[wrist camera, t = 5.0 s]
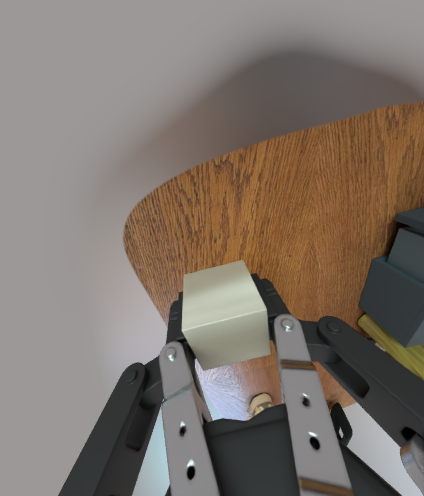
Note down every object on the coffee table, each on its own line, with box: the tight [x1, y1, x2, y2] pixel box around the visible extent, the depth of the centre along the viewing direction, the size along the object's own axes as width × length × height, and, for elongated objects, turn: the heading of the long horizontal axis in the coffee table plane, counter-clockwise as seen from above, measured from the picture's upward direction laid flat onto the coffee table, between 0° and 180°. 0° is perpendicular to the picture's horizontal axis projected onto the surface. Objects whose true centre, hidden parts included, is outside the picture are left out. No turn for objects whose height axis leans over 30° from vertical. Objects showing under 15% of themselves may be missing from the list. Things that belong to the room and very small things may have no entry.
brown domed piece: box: [247, 393, 274, 420], centre depth 57 cm, size 10×11×15 cm
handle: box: [330, 402, 352, 446], centre depth 66 cm, size 17×27×15 cm, turn 99°
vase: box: [358, 313, 424, 380], centre depth 36 cm, size 6×6×14 cm
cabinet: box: [358, 254, 424, 348], centre depth 31 cm, size 13×12×10 cm
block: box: [182, 260, 271, 371], centre depth 11 cm, size 4×4×4 cm
